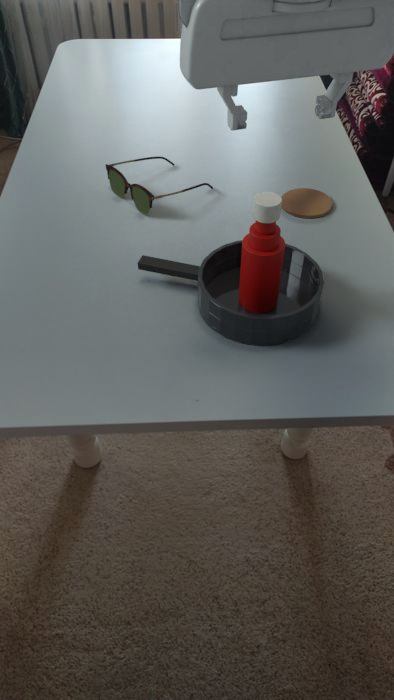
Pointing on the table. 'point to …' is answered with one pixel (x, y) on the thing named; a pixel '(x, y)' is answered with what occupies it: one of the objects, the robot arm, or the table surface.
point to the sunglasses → (137, 187)
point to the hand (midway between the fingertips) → (281, 121)
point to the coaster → (306, 203)
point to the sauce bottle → (262, 256)
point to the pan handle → (168, 267)
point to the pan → (259, 328)
